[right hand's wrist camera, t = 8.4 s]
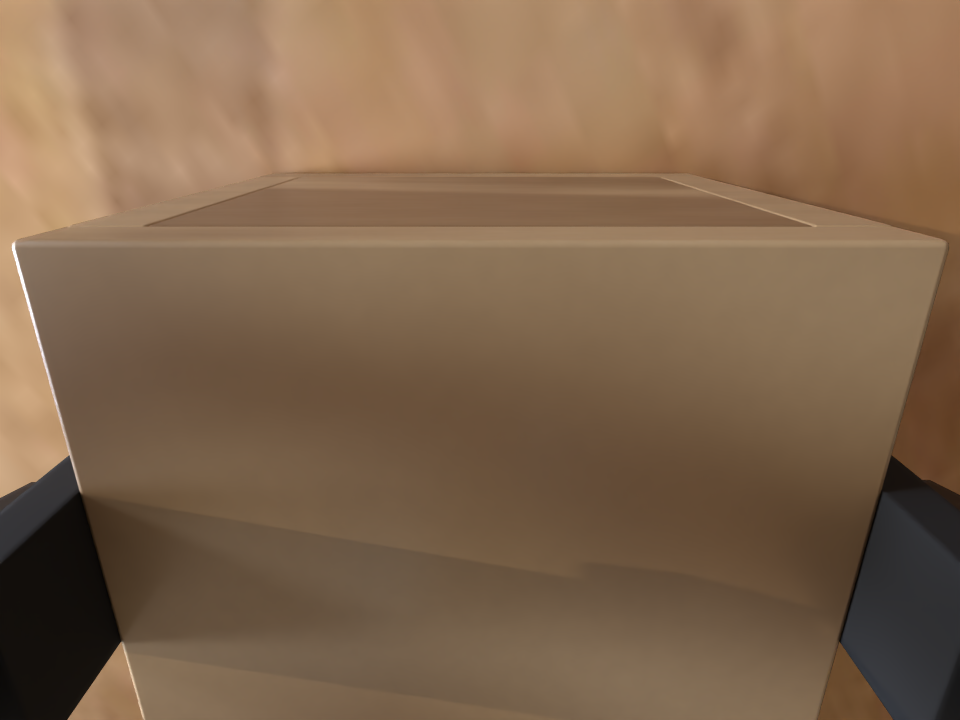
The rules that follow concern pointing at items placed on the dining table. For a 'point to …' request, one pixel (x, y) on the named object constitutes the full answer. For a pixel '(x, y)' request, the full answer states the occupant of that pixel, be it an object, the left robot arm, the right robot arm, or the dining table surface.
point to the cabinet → (480, 440)
